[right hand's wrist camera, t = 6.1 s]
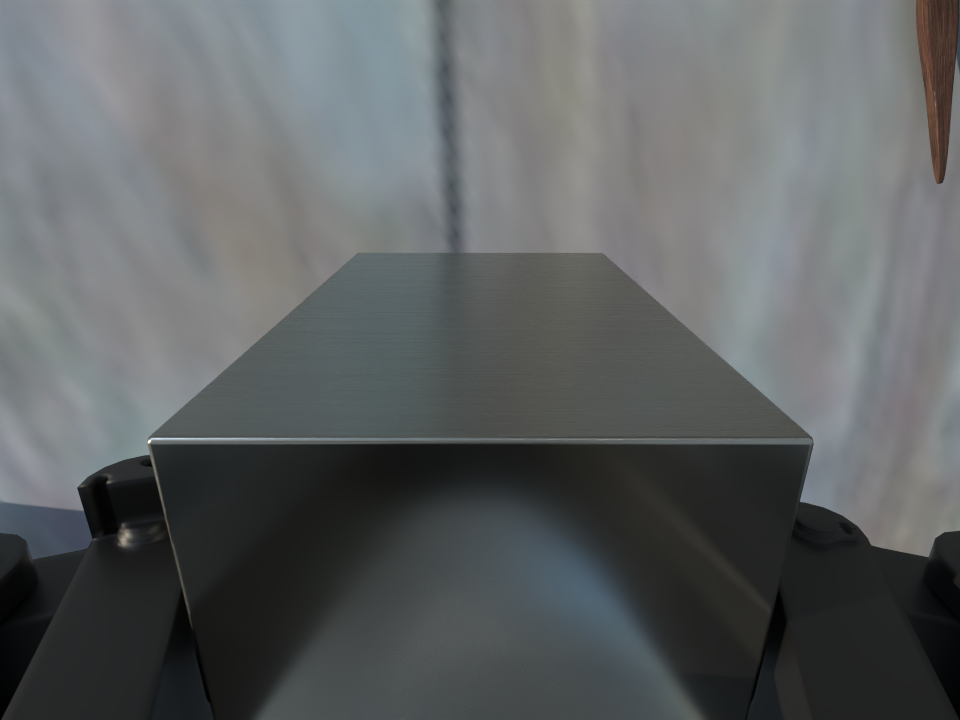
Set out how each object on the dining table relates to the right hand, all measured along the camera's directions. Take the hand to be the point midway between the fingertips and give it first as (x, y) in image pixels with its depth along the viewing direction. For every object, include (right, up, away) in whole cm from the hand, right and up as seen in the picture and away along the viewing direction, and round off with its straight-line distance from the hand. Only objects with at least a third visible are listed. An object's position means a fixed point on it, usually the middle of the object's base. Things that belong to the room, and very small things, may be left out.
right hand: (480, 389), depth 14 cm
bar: (0, -9, +4) cm, 10 cm away
